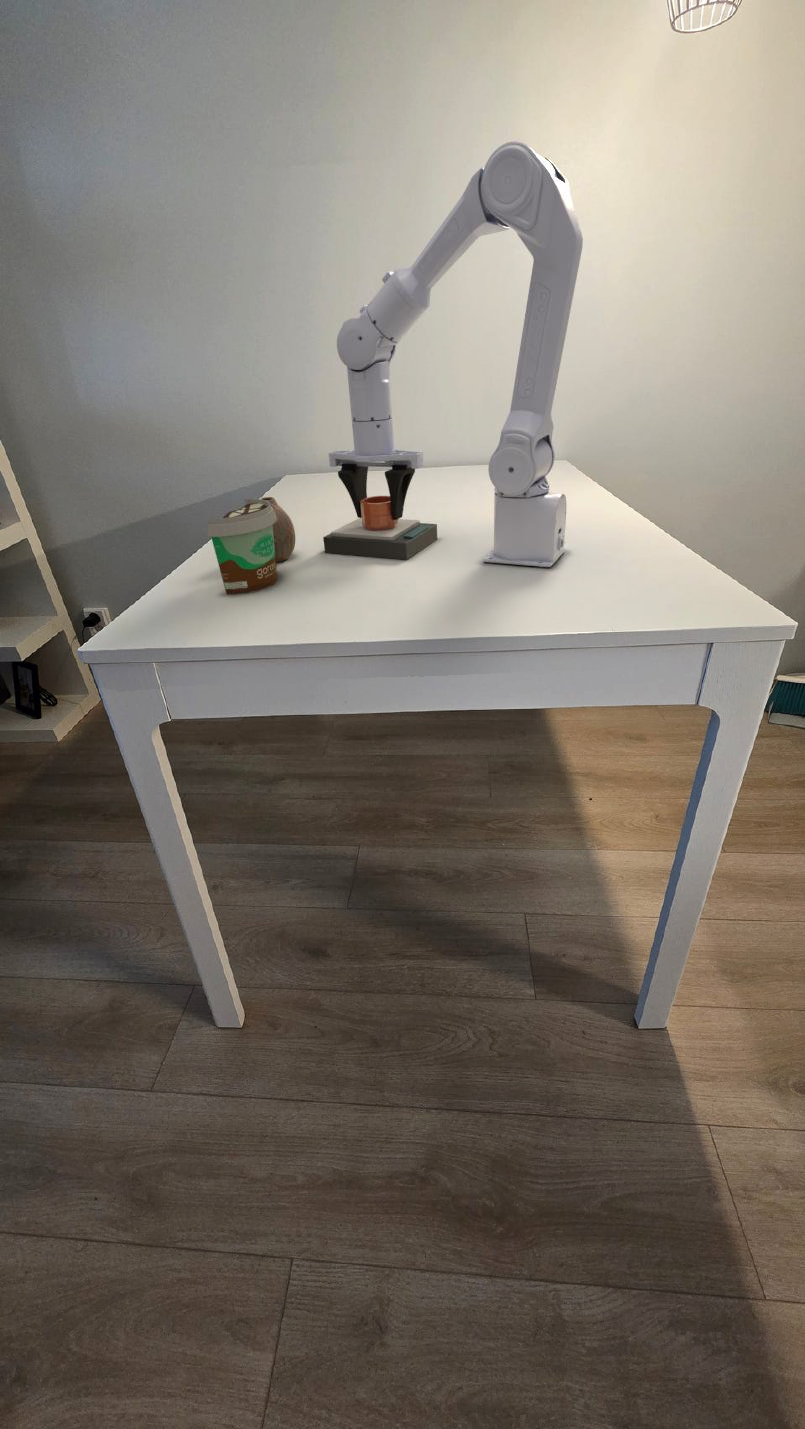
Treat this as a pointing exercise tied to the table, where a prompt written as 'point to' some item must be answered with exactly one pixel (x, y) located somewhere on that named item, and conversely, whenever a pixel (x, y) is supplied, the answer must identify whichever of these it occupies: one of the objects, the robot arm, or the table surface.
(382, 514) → the terracotta cup
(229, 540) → the food container
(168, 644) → the table surface
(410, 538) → the scale
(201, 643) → the table surface
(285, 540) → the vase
